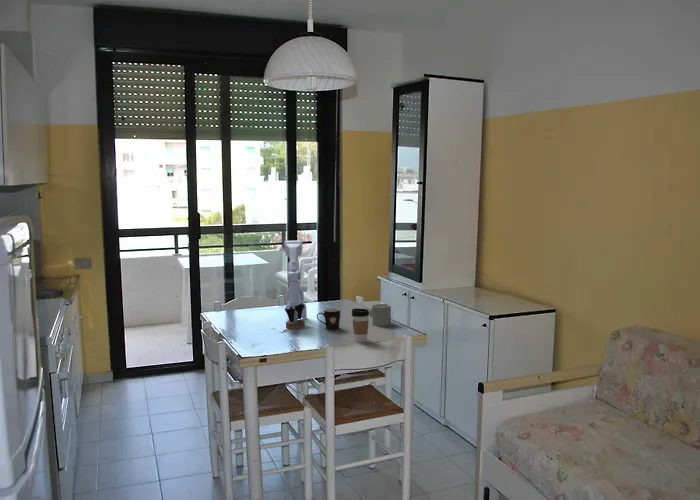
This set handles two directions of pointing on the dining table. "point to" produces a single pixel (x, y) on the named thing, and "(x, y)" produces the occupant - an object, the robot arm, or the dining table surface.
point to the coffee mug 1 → (331, 318)
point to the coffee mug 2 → (381, 314)
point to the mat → (295, 330)
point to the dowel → (295, 317)
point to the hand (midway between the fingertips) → (295, 320)
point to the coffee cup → (360, 324)
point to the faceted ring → (295, 325)
